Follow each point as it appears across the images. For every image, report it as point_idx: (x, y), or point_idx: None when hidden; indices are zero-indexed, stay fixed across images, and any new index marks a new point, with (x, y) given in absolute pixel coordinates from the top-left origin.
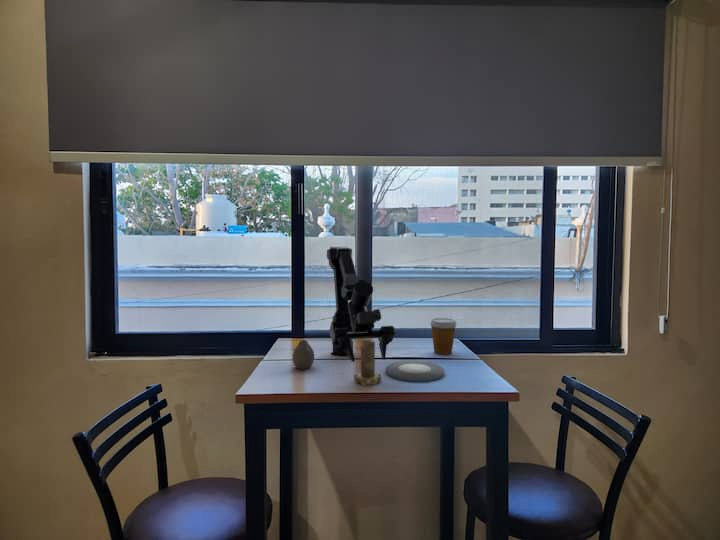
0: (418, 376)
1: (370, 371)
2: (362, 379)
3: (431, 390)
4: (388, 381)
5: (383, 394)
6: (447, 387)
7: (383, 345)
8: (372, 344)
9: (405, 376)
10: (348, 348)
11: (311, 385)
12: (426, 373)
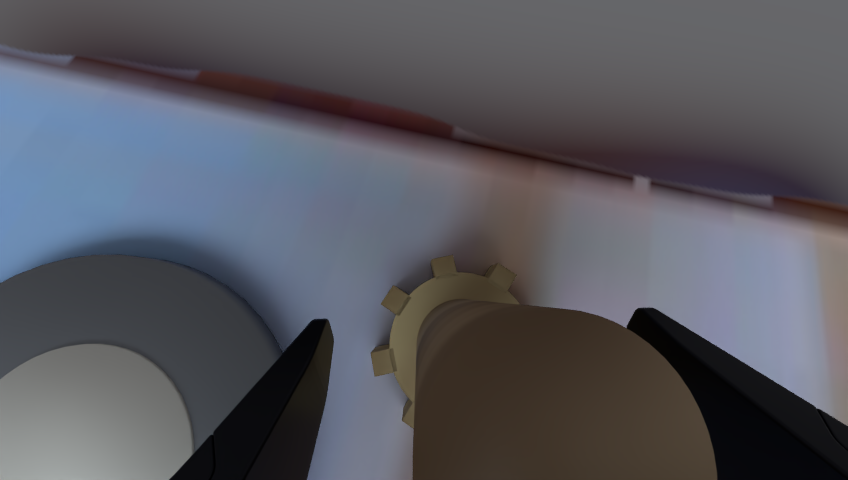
0: (141, 282)
1: (459, 300)
2: (510, 274)
3: (178, 118)
4: (339, 307)
5: (429, 117)
6: (74, 140)
7: (238, 467)
8: (486, 325)
9: (221, 301)
10: (839, 426)
11: (783, 334)
12: (56, 333)
